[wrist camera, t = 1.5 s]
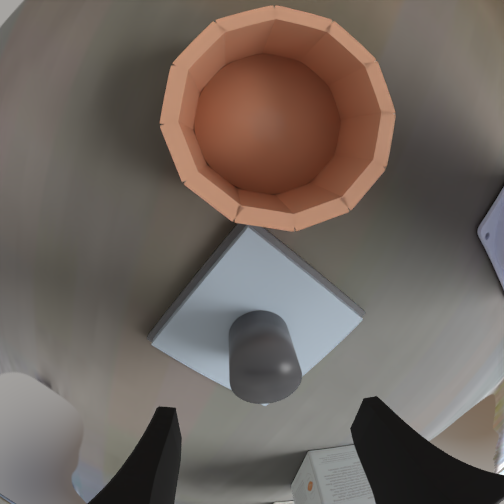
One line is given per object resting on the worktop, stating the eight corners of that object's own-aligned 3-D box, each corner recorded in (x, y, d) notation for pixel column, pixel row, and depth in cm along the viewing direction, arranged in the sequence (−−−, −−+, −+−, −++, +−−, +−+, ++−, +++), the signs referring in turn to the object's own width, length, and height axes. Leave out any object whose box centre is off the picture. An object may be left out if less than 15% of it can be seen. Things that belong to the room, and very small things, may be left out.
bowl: (375, 122, 13) (427, 117, 9) (276, 235, 15) (296, 272, 11) (257, 19, 11) (269, -26, 7) (150, 137, 13) (116, 133, 8)
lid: (359, 314, 16) (389, 356, 12) (264, 399, 18) (272, 448, 14) (247, 224, 14) (254, 254, 10) (153, 338, 16) (137, 388, 12)
